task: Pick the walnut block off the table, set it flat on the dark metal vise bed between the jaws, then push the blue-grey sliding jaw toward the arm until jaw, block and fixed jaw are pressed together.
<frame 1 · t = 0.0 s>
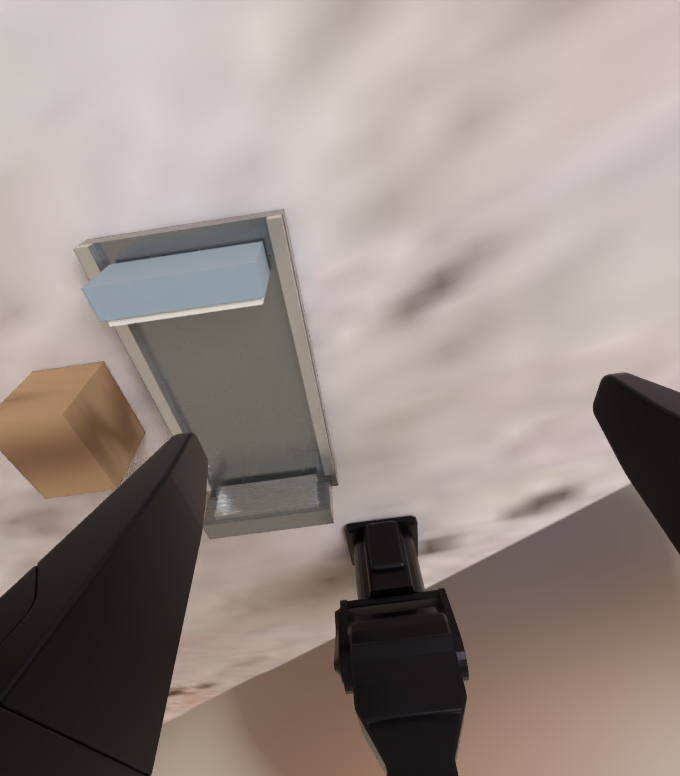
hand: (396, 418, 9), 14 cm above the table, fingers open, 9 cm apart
block: (92, 404, 26), on the table
jaw: (185, 284, 19), point 3 cm above the table, slide at 0.0 cm
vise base: (241, 384, 26), on the table
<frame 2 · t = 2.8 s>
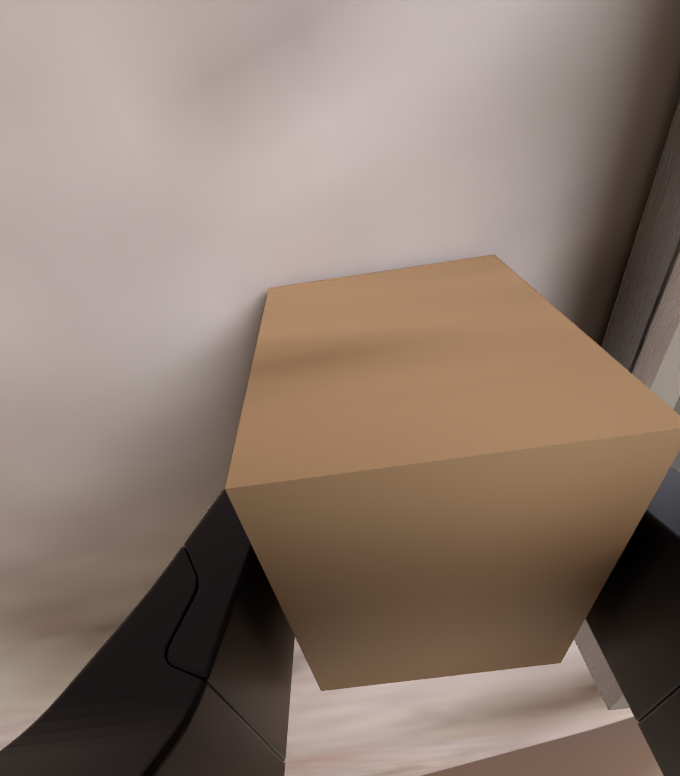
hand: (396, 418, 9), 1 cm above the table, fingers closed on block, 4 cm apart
block: (388, 390, 10), on the table, touching gripper
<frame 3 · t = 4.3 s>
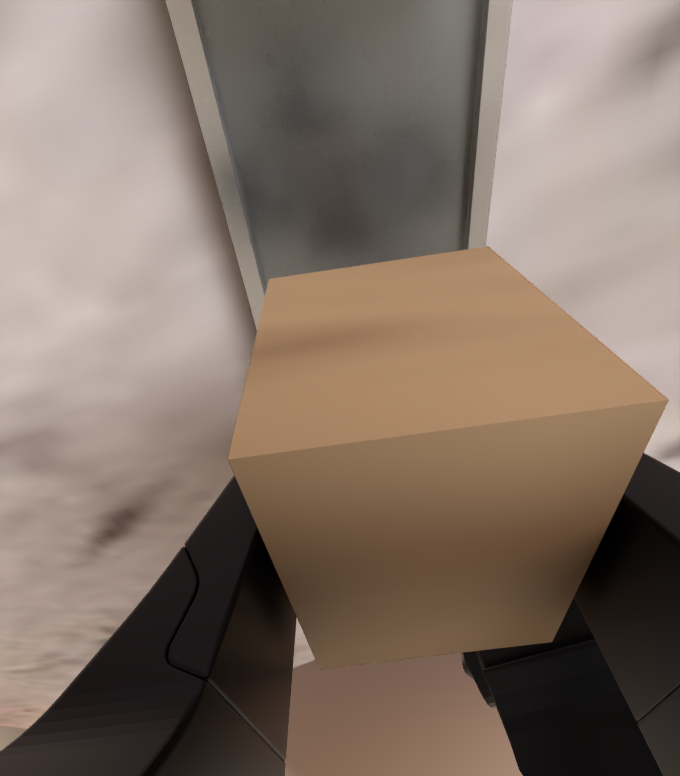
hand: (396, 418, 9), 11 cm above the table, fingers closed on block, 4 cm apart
block: (386, 380, 10), point 9 cm above the table, touching gripper
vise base: (355, 202, 16), on the table
when the fingers open (3 cm above the table, at t = 6.2 s): block stays where it is, resting on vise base.
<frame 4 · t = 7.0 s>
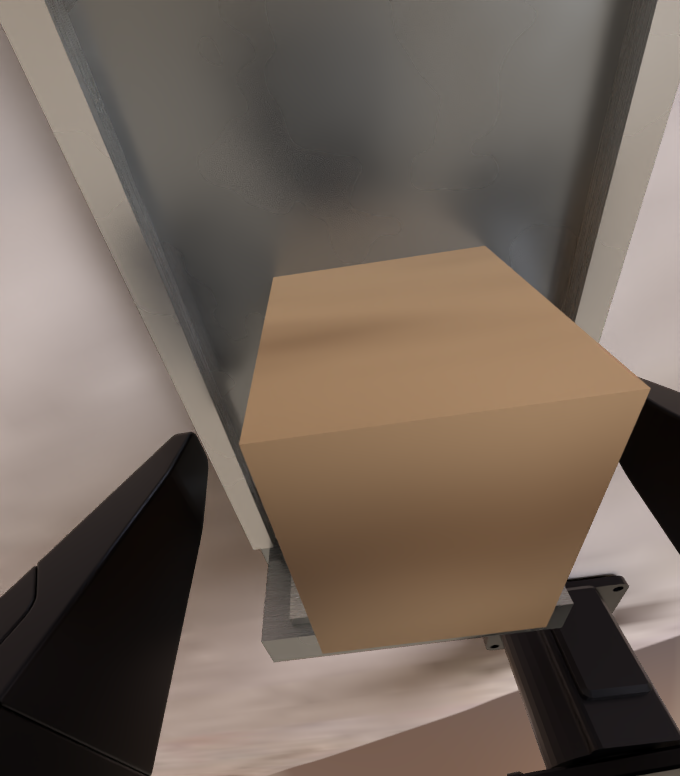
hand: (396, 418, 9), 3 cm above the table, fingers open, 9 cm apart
block: (386, 376, 10), point 1 cm above the table, touching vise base
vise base: (373, 287, 10), on the table
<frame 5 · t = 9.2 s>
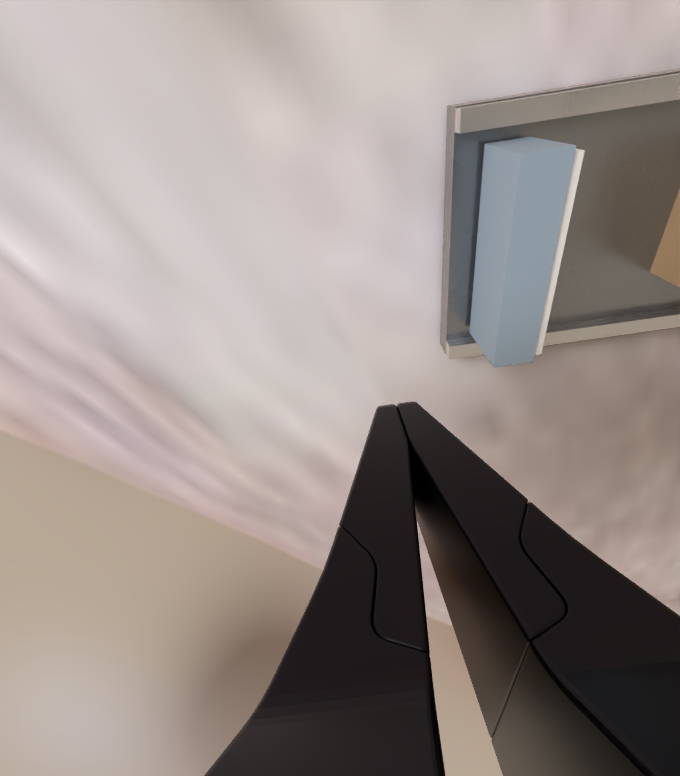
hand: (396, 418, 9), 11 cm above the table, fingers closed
jaw: (515, 259, 15), point 3 cm above the table, slide at 0.0 cm
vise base: (674, 210, 17), on the table
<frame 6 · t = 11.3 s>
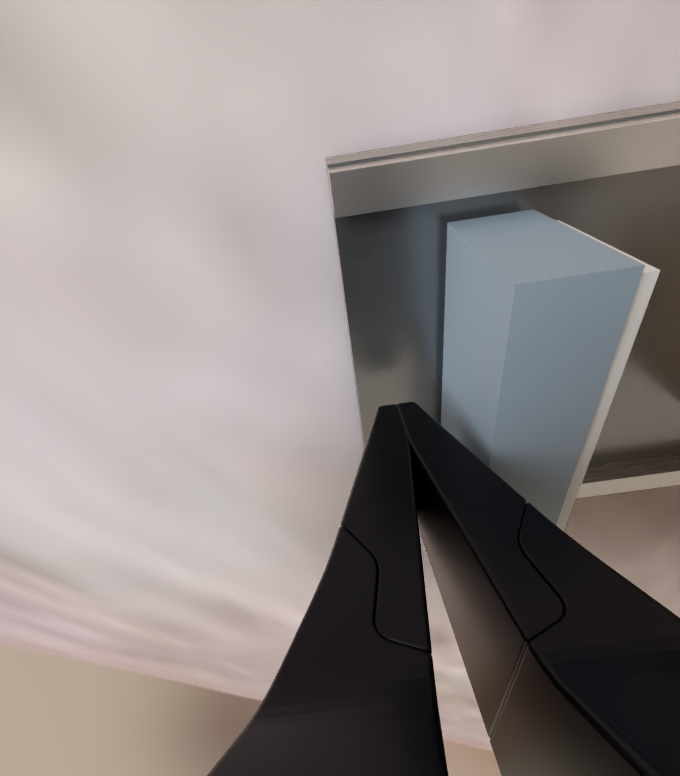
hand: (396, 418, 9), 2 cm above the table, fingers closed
jaw: (508, 420, 8), point 3 cm above the table, slide at 1.1 cm, touching gripper
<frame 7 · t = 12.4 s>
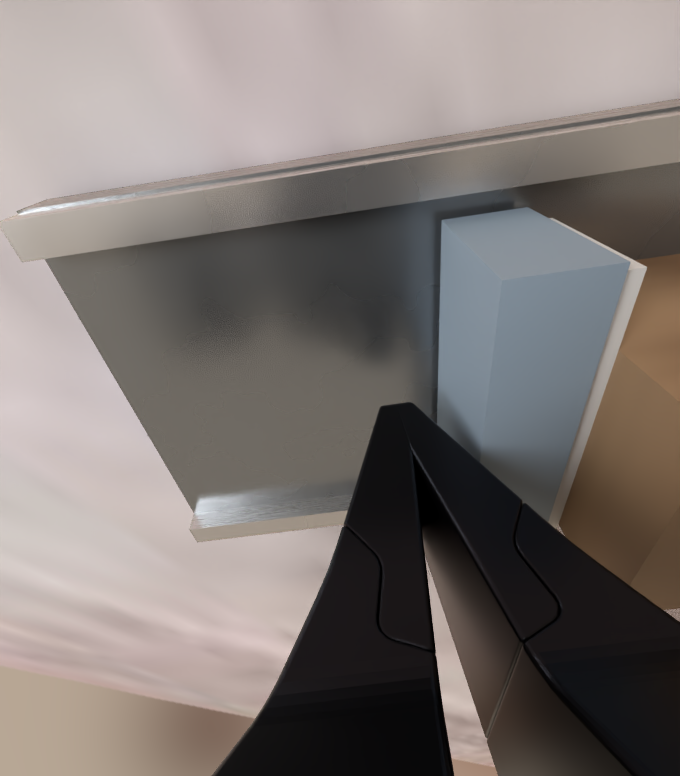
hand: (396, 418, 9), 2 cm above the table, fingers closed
block: (638, 345, 10), point 1 cm above the table, touching jaw
jaw: (502, 416, 8), point 3 cm above the table, slide at 6.8 cm, touching block, gripper
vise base: (509, 342, 11), on the table
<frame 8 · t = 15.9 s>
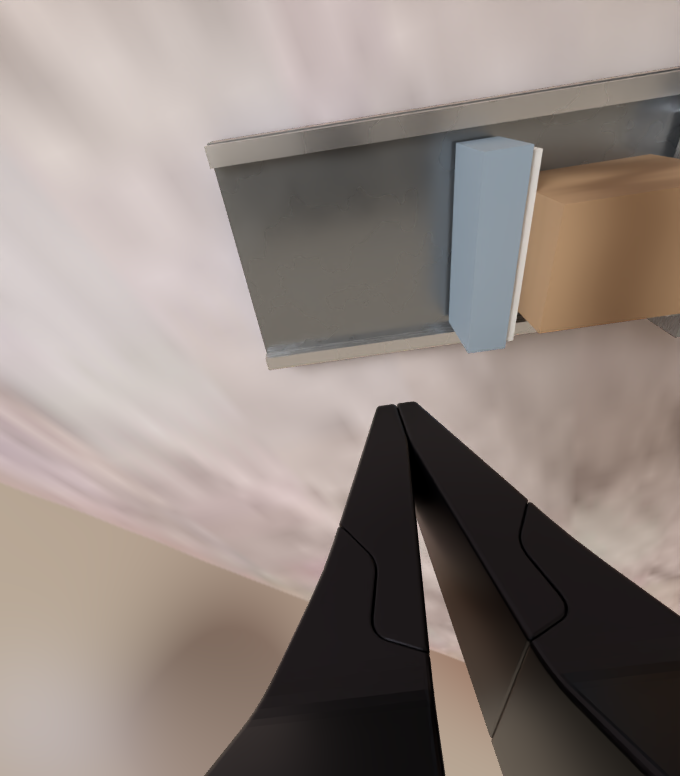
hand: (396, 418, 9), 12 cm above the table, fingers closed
block: (563, 223, 17), point 1 cm above the table, touching jaw, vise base
jaw: (487, 251, 16), point 3 cm above the table, slide at 8.3 cm, touching block
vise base: (459, 233, 18), on the table
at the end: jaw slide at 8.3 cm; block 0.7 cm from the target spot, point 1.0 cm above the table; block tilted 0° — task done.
